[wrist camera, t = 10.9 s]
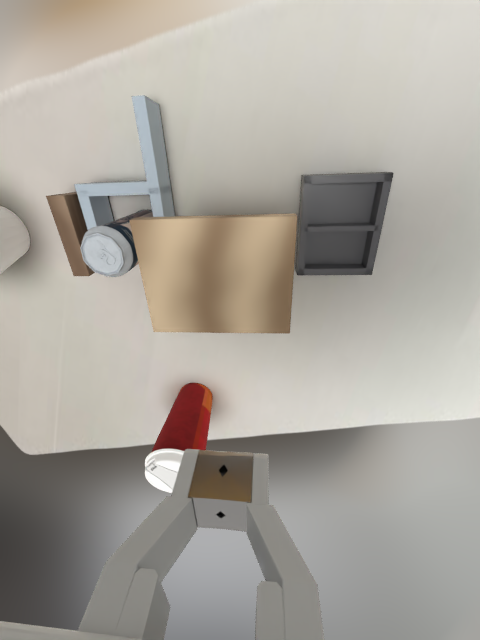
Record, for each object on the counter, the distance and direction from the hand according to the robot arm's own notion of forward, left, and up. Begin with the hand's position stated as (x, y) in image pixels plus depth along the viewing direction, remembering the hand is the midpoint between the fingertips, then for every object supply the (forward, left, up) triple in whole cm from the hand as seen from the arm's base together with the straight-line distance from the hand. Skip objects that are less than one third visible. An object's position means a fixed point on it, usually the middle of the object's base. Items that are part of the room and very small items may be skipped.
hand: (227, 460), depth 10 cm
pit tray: (-10, -3, -29) cm, 31 cm away
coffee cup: (+10, +26, -29) cm, 41 cm away
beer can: (+13, -3, -29) cm, 32 cm away
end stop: (+21, -3, -29) cm, 36 cm away
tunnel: (+2, -1, -29) cm, 29 cm away
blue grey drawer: (+14, -7, -29) cm, 33 cm away
